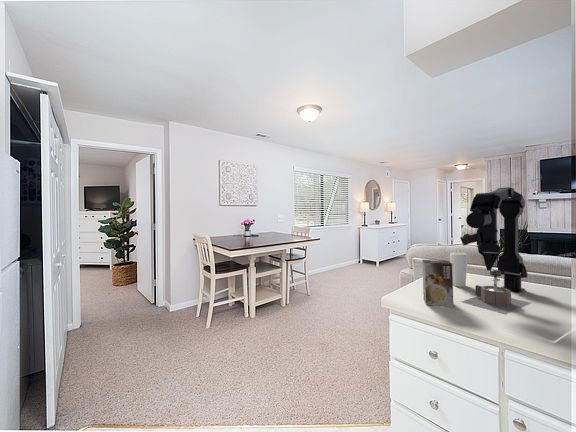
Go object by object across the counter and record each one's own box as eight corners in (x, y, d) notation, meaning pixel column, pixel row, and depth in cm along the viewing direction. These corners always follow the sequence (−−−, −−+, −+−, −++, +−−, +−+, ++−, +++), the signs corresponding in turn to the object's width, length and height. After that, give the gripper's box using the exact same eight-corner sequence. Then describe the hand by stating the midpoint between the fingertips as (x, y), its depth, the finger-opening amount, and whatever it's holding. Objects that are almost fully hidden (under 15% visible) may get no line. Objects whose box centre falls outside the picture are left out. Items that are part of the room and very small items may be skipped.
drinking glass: (470, 288, 115) (470, 254, 115) (453, 287, 116) (453, 254, 116) (463, 284, 122) (463, 252, 121) (447, 283, 123) (447, 252, 123)
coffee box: (449, 301, 100) (449, 260, 99) (453, 307, 94) (453, 263, 93) (422, 299, 103) (422, 259, 102) (425, 305, 97) (424, 262, 96)
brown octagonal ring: (481, 295, 105) (481, 283, 105) (514, 303, 95) (514, 290, 95) (470, 299, 101) (470, 286, 101) (503, 307, 91) (503, 293, 91)
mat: (487, 293, 108) (487, 292, 108) (531, 303, 96) (531, 302, 96) (460, 302, 98) (460, 301, 98) (505, 315, 86) (505, 314, 86)
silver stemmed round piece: (490, 289, 100) (490, 268, 100) (507, 292, 96) (507, 271, 96) (483, 291, 98) (483, 270, 98) (500, 295, 93) (500, 273, 93)
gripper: (461, 224, 109) (462, 261, 110) (460, 228, 94) (461, 270, 94) (495, 224, 103) (495, 263, 103) (500, 228, 88) (501, 274, 88)
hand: (487, 267), depth 98 cm, fingers open, 9 cm apart
